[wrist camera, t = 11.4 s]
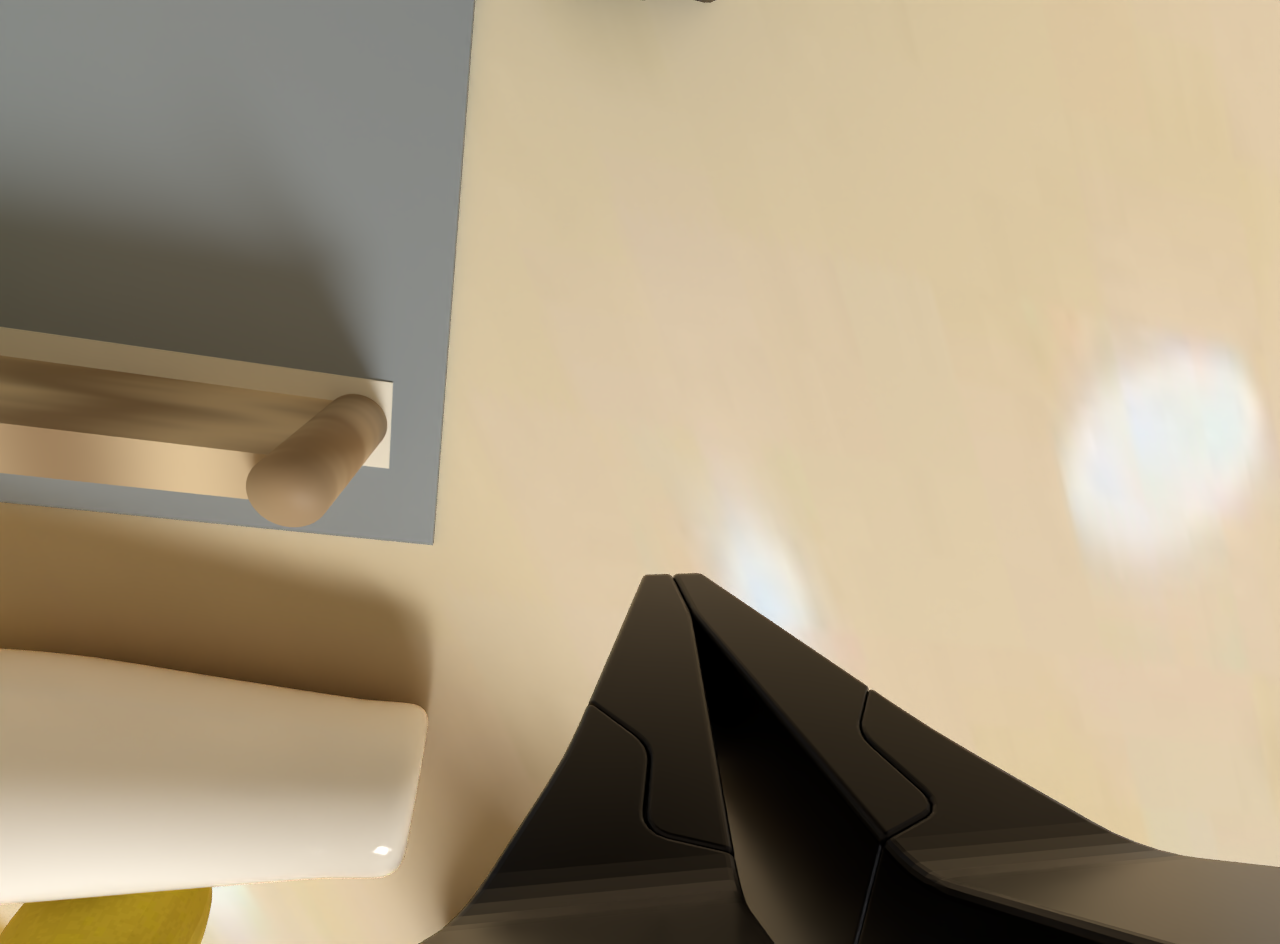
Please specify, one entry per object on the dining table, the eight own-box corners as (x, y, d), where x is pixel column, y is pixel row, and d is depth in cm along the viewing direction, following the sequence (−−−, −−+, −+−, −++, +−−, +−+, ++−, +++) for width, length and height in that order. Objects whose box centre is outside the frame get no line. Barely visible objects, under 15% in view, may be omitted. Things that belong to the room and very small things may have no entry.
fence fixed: (-163, 392, 18) (-476, 468, 12) (-186, 305, 17) (-533, 346, 11) (387, 459, 20) (327, 546, 15) (391, 387, 19) (328, 451, 14)
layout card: (-652, -512, 11) (-676, -527, 11) (487, -171, 15) (486, -177, 15) (-299, 468, 18) (-310, 472, 18) (433, 542, 21) (432, 545, 21)
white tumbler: (441, 647, 24) (-38, 601, 20) (420, 774, 18) (-282, 741, 14) (415, 795, 26) (-37, 778, 22) (386, 960, 19) (-257, 977, 16)
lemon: (193, 903, 26) (54, 1172, 19) (58, 846, 24) (-156, 1119, 17) (277, 824, 25) (167, 1073, 18) (144, 758, 23) (-42, 1005, 16)
